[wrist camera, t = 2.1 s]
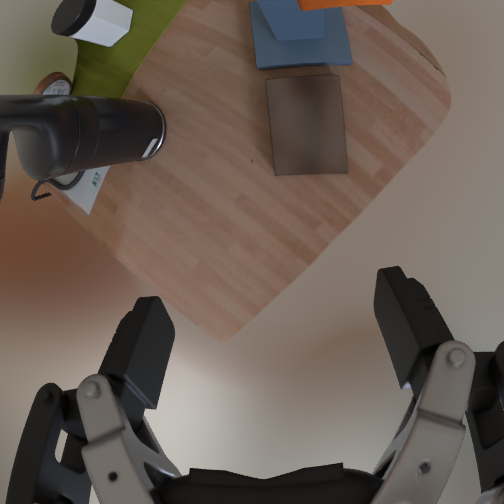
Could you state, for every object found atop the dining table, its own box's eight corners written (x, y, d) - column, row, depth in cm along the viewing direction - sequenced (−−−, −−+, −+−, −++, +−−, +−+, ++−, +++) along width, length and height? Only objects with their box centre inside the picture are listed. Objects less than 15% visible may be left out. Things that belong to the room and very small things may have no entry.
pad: (277, 174, 36) (274, 175, 34) (268, 82, 31) (265, 79, 30) (346, 172, 33) (347, 173, 32) (337, 78, 29) (338, 75, 27)
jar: (127, -1, 29) (83, -22, 18) (140, 23, 31) (92, 2, 20) (92, 30, 32) (46, 18, 21) (102, 55, 34) (52, 45, 23)
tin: (73, 73, 36) (40, 69, 28) (80, 78, 36) (47, 75, 29) (45, 137, 42) (15, 142, 35) (52, 144, 43) (20, 150, 35)
